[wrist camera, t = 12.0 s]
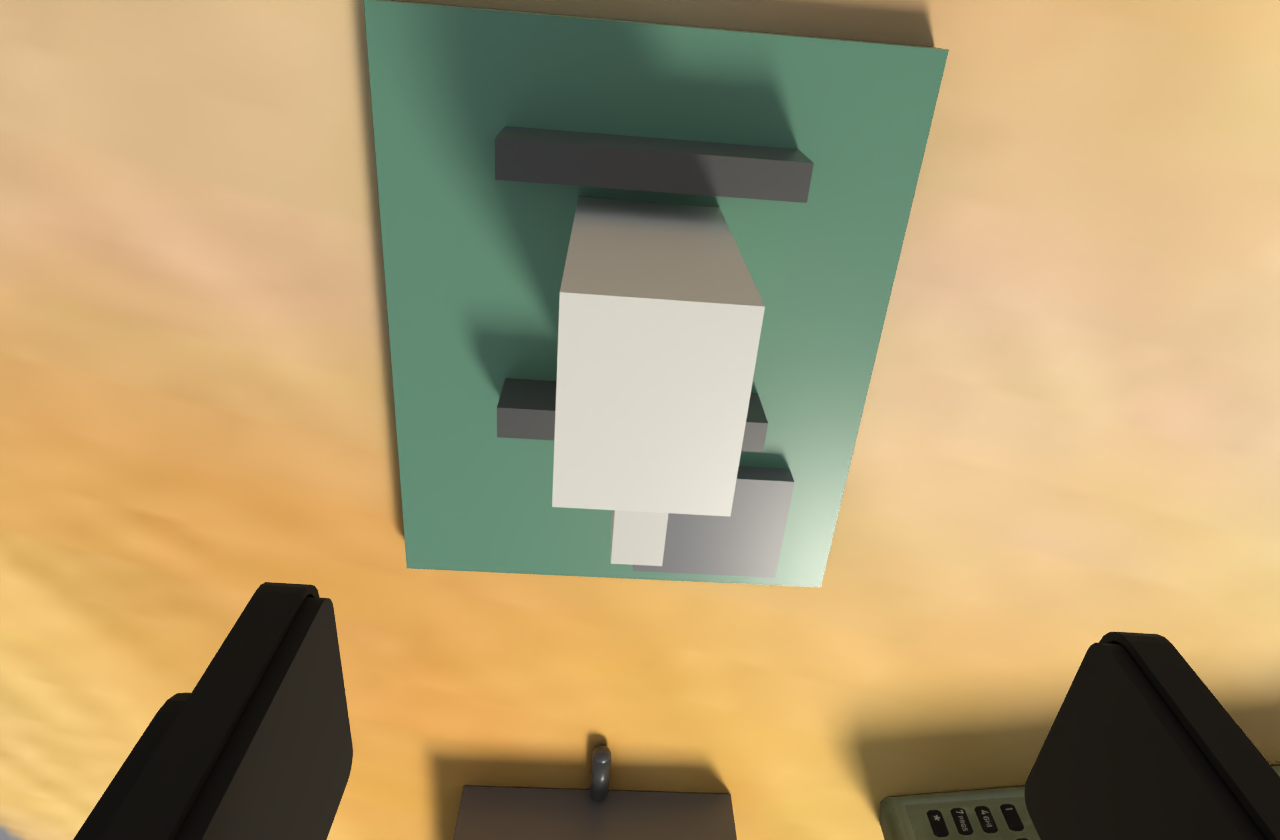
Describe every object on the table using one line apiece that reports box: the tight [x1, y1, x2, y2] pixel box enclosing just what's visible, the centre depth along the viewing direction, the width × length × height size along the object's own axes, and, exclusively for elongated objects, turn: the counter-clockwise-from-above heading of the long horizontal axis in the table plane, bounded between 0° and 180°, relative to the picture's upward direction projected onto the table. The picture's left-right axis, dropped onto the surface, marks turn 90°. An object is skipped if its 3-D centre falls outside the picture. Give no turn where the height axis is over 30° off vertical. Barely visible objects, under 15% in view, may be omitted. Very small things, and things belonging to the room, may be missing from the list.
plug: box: [552, 197, 765, 566], centre depth 21 cm, size 4×6×8 cm, turn 175°
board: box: [364, 0, 949, 587], centre depth 24 cm, size 15×18×3 cm
